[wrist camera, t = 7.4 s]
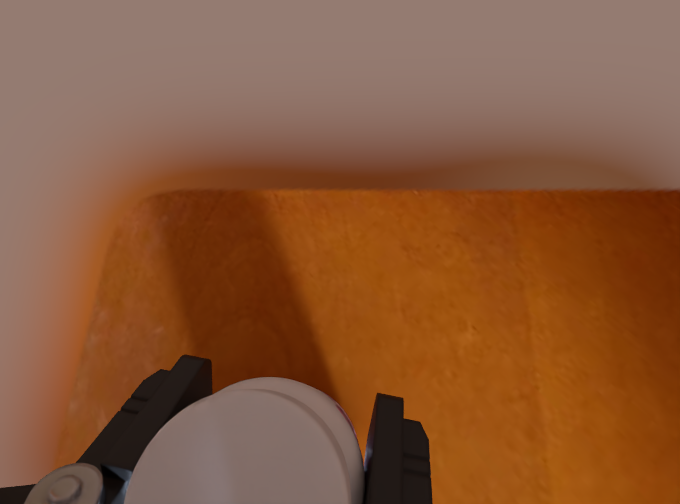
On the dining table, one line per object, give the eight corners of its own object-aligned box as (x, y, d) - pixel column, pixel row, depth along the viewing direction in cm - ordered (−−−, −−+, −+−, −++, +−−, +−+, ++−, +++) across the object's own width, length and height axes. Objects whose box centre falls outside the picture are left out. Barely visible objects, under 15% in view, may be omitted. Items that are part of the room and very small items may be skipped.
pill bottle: (385, 445, 15) (430, 497, 7) (297, 562, 14) (231, 785, 6) (290, 357, 16) (235, 318, 8) (201, 459, 15) (35, 530, 7)
